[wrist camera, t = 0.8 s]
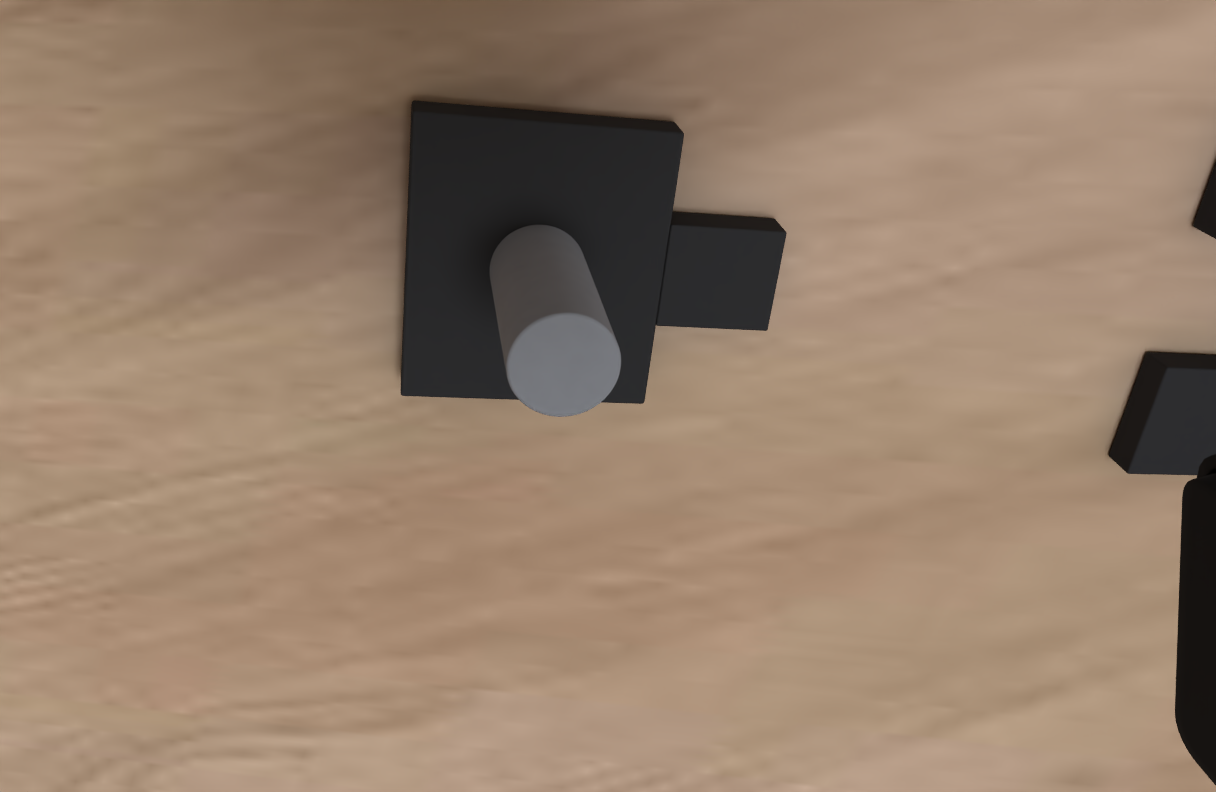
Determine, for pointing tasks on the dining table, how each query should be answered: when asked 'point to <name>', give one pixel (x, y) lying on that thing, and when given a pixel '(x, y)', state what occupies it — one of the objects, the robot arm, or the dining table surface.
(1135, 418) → the big pad
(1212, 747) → the robot arm
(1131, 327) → the dining table surface
